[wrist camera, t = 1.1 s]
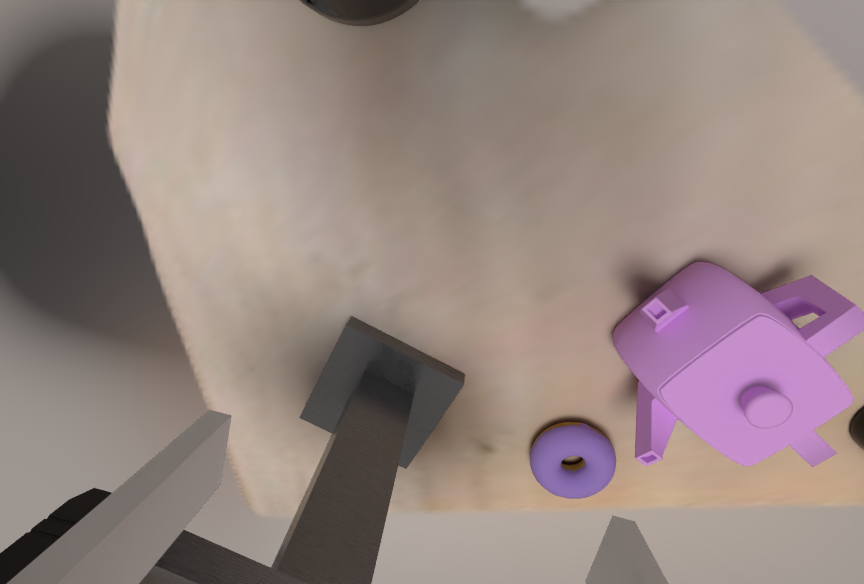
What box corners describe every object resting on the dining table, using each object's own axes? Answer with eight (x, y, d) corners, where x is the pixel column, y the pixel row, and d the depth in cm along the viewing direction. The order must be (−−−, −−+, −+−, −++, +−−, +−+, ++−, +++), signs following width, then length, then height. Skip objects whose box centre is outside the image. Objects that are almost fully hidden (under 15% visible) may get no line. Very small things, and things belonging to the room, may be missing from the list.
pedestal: (283, 395, 51) (86, 678, 26) (326, 303, 46) (133, 542, 20) (430, 466, 53) (385, 795, 27) (488, 385, 48) (500, 700, 22)
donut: (517, 425, 49) (530, 453, 45) (593, 400, 49) (615, 426, 45) (535, 489, 53) (549, 522, 48) (606, 466, 53) (628, 496, 48)
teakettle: (770, 401, 45) (868, 496, 34) (603, 406, 48) (643, 497, 36) (803, 246, 39) (936, 300, 28) (609, 261, 41) (658, 316, 30)
